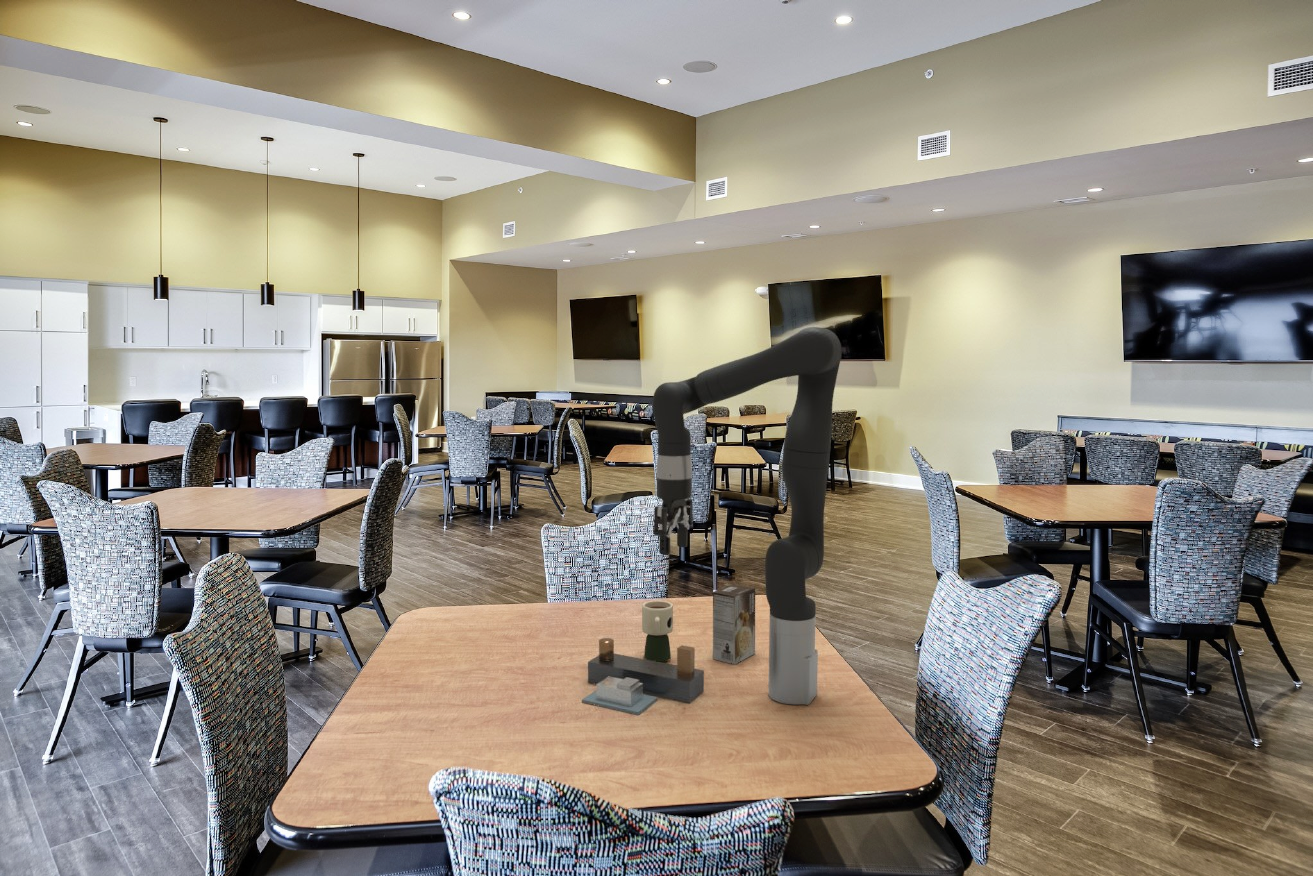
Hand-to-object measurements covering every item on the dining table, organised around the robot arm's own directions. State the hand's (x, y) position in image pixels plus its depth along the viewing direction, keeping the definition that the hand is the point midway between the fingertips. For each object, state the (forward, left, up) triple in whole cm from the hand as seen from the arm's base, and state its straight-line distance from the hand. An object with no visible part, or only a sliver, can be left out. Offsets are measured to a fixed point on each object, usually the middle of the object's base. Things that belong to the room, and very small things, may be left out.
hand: (673, 550), depth 173 cm
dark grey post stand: (+3, +7, -28) cm, 29 cm away
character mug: (+8, -8, -28) cm, 30 cm away
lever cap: (+4, +16, -28) cm, 32 cm away
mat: (+4, +16, -28) cm, 33 cm away
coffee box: (-7, -18, -28) cm, 34 cm away
